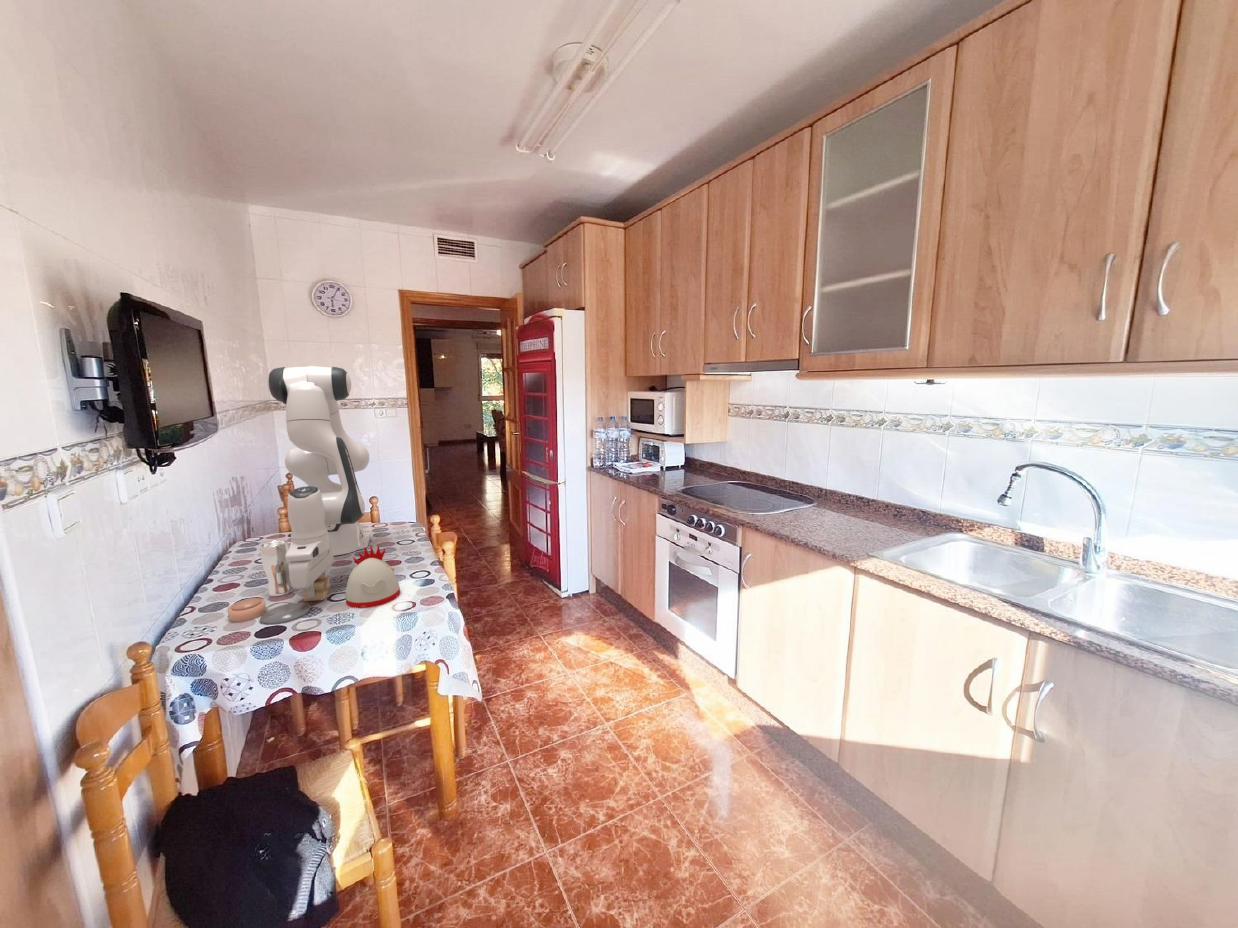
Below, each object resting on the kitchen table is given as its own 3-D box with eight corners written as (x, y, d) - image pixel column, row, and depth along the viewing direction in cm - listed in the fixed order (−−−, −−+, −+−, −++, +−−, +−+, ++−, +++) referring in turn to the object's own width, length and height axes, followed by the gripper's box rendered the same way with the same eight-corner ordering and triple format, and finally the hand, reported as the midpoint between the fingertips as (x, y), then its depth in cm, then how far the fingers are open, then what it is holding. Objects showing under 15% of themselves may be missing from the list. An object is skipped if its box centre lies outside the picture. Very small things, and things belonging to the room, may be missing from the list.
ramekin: (239, 610, 134) (237, 598, 133) (272, 607, 135) (270, 595, 135) (222, 624, 126) (220, 611, 125) (257, 620, 128) (255, 608, 127)
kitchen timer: (402, 600, 138) (397, 549, 135) (346, 612, 131) (340, 559, 128) (397, 583, 149) (392, 536, 147) (345, 593, 143) (339, 544, 140)
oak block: (311, 594, 143) (309, 577, 142) (330, 592, 144) (328, 575, 143) (304, 601, 138) (302, 584, 137) (323, 599, 139) (321, 582, 138)
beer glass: (301, 588, 147) (294, 540, 144) (279, 598, 140) (272, 548, 138) (282, 586, 149) (276, 538, 146) (260, 595, 142) (253, 546, 140)
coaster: (273, 606, 135) (273, 604, 135) (317, 602, 137) (316, 600, 137) (252, 626, 124) (251, 624, 124) (300, 621, 126) (299, 619, 126)
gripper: (313, 534, 148) (319, 577, 150) (281, 558, 128) (288, 607, 130) (336, 532, 149) (341, 575, 151) (308, 556, 129) (315, 605, 132)
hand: (317, 590), depth 141 cm, fingers open, 6 cm apart
